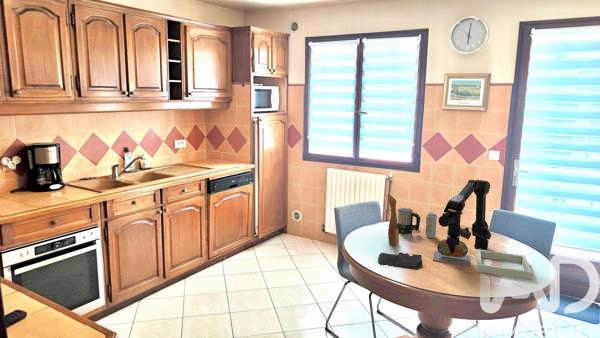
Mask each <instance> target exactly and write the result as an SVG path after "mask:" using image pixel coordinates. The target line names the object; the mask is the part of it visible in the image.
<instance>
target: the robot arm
mask: <svg viewBox="0 0 600 338" xmlns="http://www.w3.org/2000/svg"><path fill="white" fill-rule="evenodd" d="M490 189H491V183H490V182H489V181H488V180H483V179H468V180H467V183H466V184H465V186H463V188H462V189H461V190H460V192H459V193H458V194H457V195H454V196H452V197H451V198H450V199H449V200H448V202H447V203H446V205H445V207H444V210H443V213H442V214H441V215H440V216H439V218H437V219H438V220H437V222H438V224H439V226H440V227H442V228H446V227H447V234H446V235H447V237H446V239H445V240H446V243H447V244H448V246H449V249H450V251H451V253H453V252H454V249H455V246H456V245H459V242H460V241H461V239H460V238H463V239H466V240H468V241H469V240H470V238H471V236H472V237H474V244H473V247H474V249H476V250H477V249H478V250H486V251H488V248H489V240H491V238H492V233H491V231H490V230H489V224H488V221H486V211H487V208H486V207H487V205H486V204H487V195H488V194H489V193H490ZM473 193H474V195H475V199H476V200H475V221H474V222H473V223H472V224H471V231H470V228H469V227H467V226H466V227H465V228H462V227H461V221H462V219H461V217H462V215H463V214H464V212H463V211H464V209H465V207H466V202H467V200H468V199H469V198H470V196H471V195H472V194H473Z"/></svg>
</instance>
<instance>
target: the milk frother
mask: <svg viewBox="0 0 600 338" xmlns="http://www.w3.org/2000/svg"><path fill="white" fill-rule="evenodd" d="M397 211H398V212H397V213H398V214H397V222H398V232H399V234H400V233H401V234H400V235H411V234H412V233H413V230H415V231H416V232H417V231H419V230H420V225H421V215H420V214H418V213H417V212H414V209H411V208H406V207H405V208H404V207H400V208H398V209H397ZM414 218H416V221H415V224H413V219H414Z"/></svg>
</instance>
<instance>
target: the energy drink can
mask: <svg viewBox="0 0 600 338" xmlns="http://www.w3.org/2000/svg"><path fill="white" fill-rule="evenodd" d="M437 219H438V215H437V213H436V212H433V211H428V212H427V214H426V219H425V234H424V235H425V237H426V236H427V237H426V238H428V237H429V239H434V238H435V237H436V235H437V234H436V233H437V222H438V220H437Z"/></svg>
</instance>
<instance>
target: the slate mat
mask: <svg viewBox="0 0 600 338" xmlns="http://www.w3.org/2000/svg"><path fill="white" fill-rule="evenodd" d="M432 262H439V263H445V264H451V265H452V264H453V265H458V266H463V267H464V266H465V267H471V257H470V255H467V254H466V255H465V256H464V257H461V258H459V257H451V256H444V255H441V254H440V253H439V252H438V250H434V251H433V256H432Z"/></svg>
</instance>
